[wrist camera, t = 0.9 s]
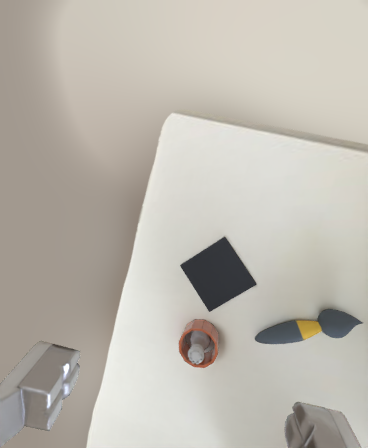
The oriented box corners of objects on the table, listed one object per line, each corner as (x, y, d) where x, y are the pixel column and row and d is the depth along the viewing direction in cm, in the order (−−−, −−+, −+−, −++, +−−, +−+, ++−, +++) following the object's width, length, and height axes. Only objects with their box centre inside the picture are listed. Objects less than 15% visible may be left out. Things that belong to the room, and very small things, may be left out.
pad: (256, 283, 48) (256, 284, 48) (209, 310, 50) (209, 311, 50) (224, 236, 50) (224, 236, 49) (180, 265, 52) (180, 265, 51)
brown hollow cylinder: (225, 344, 49) (225, 356, 45) (195, 361, 51) (192, 374, 46) (205, 313, 50) (203, 321, 46) (176, 329, 52) (171, 339, 47)
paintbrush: (261, 353, 48) (265, 367, 43) (251, 330, 48) (254, 342, 43) (357, 321, 44) (373, 333, 39) (345, 298, 45) (359, 306, 40)
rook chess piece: (198, 323, 51) (192, 341, 43) (214, 336, 50) (211, 357, 42) (187, 338, 51) (179, 358, 43) (203, 351, 50) (198, 374, 43)
